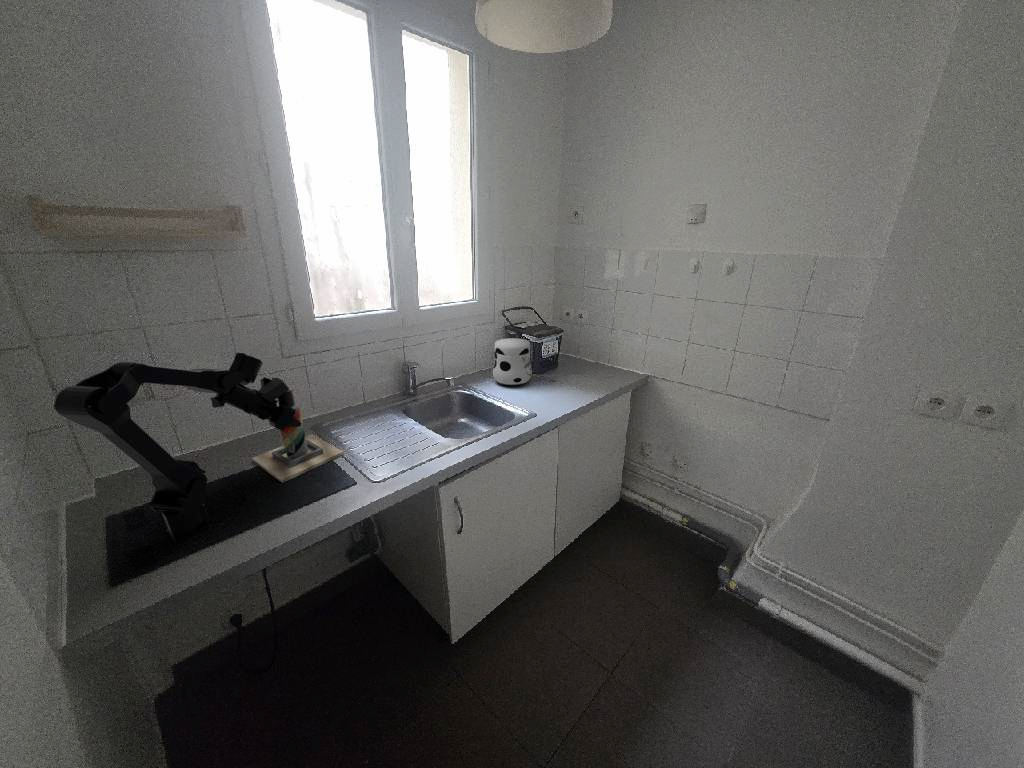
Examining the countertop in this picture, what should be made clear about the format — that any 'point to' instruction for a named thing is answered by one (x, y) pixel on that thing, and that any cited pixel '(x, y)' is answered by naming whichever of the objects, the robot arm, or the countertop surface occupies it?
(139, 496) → the countertop surface
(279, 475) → the port board
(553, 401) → the countertop surface
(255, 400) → the robot arm
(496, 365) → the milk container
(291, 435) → the lotion bottle
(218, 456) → the countertop surface
